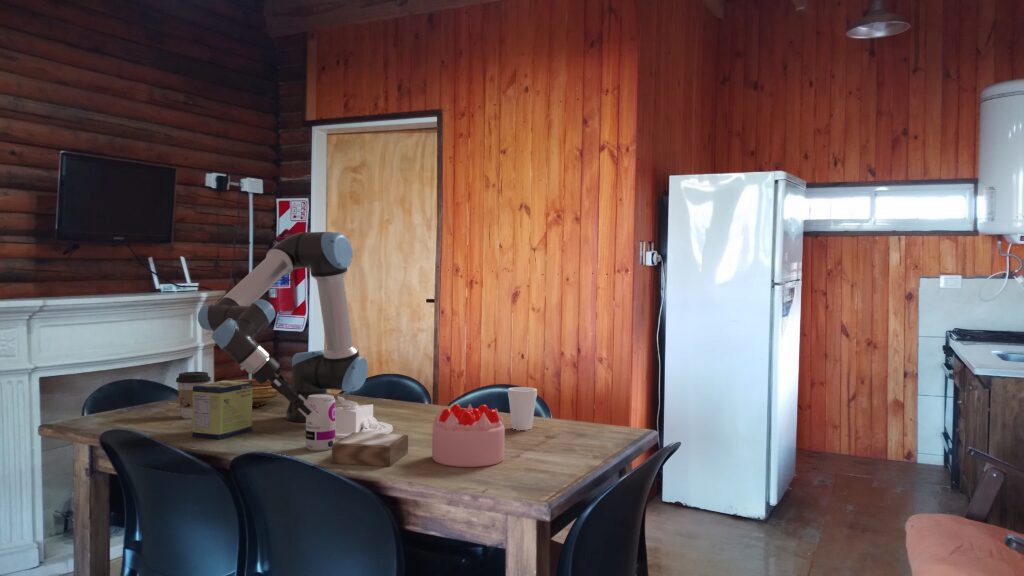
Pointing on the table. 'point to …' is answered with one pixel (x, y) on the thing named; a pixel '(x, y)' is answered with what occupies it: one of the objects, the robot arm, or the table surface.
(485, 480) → the table surface
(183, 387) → the coffee cup
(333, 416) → the supplement can
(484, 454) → the cake
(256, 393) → the wicker basket
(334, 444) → the walnut stand
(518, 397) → the foam cup
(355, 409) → the dish
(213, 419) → the protein box
